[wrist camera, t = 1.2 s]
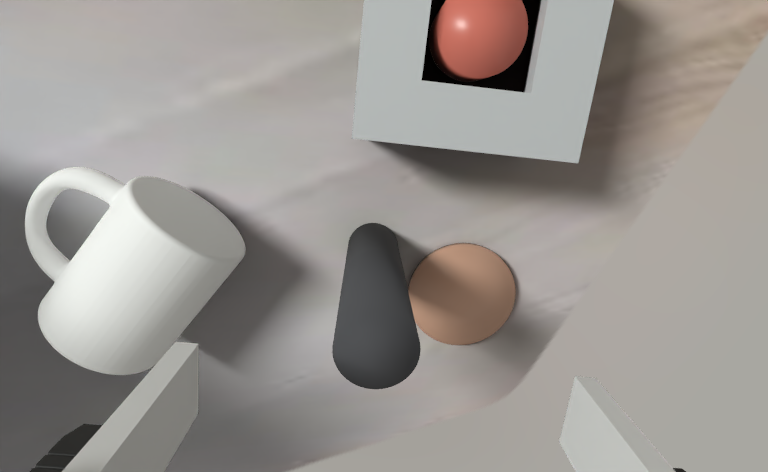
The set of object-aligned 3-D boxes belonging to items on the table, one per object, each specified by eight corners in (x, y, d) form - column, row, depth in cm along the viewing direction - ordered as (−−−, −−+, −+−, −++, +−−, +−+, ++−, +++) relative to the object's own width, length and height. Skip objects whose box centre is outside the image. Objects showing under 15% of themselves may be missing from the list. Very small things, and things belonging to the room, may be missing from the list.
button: (423, 76, 26) (430, 72, 23) (434, -12, 25) (443, -28, 22) (502, 86, 26) (518, 82, 23) (516, -1, 25) (536, -16, 22)
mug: (259, 239, 33) (225, 278, 25) (180, 335, 34) (126, 399, 27) (114, 128, 30) (28, 133, 23) (38, 237, 32) (-67, 276, 24)
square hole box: (355, 132, 31) (351, 138, 23) (373, -67, 28) (376, -136, 20) (526, 151, 31) (578, 163, 24) (562, -41, 28) (635, -98, 21)
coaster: (402, 336, 35) (402, 340, 34) (415, 237, 33) (416, 240, 32) (502, 345, 35) (505, 349, 35) (521, 248, 33) (524, 250, 33)
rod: (346, 267, 33) (329, 385, 19) (350, 220, 32) (336, 306, 18) (394, 272, 33) (414, 392, 19) (400, 225, 33) (425, 314, 18)
